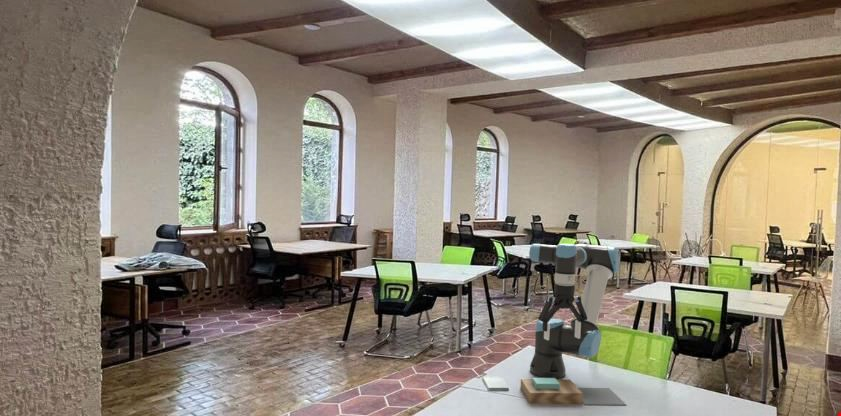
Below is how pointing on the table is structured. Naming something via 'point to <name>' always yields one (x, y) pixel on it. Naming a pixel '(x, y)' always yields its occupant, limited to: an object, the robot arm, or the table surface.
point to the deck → (552, 393)
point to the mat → (600, 397)
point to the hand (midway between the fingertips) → (562, 338)
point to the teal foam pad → (545, 383)
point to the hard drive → (495, 383)
